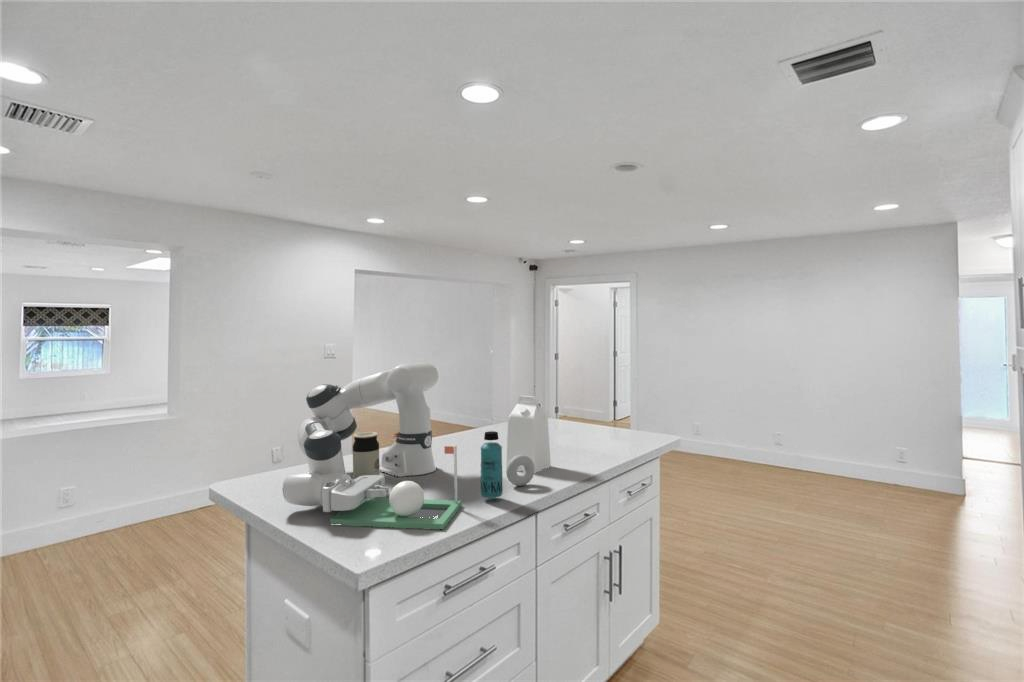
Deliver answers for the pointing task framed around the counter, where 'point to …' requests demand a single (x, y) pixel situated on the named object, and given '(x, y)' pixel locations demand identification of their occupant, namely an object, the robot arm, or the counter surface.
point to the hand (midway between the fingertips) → (387, 491)
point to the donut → (513, 466)
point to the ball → (406, 498)
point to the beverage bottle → (491, 467)
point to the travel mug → (365, 454)
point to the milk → (528, 433)
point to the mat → (383, 516)
